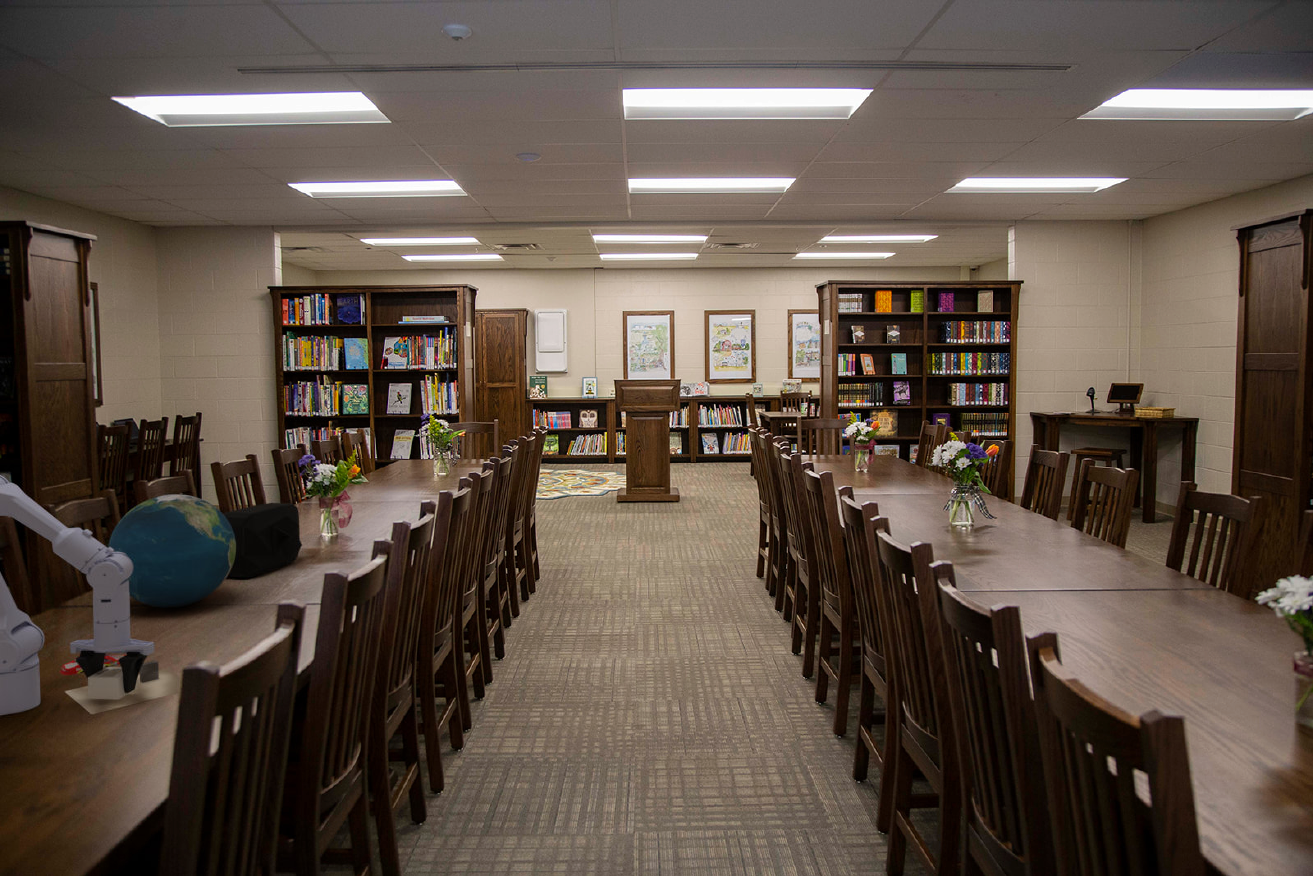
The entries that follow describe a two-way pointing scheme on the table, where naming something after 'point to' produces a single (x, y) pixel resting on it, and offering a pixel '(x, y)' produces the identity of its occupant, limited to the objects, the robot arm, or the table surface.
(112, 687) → the toy microwave
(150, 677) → the switch board
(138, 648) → the robot arm
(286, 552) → the black hard case
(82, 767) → the table surface
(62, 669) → the race car
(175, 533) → the globe
